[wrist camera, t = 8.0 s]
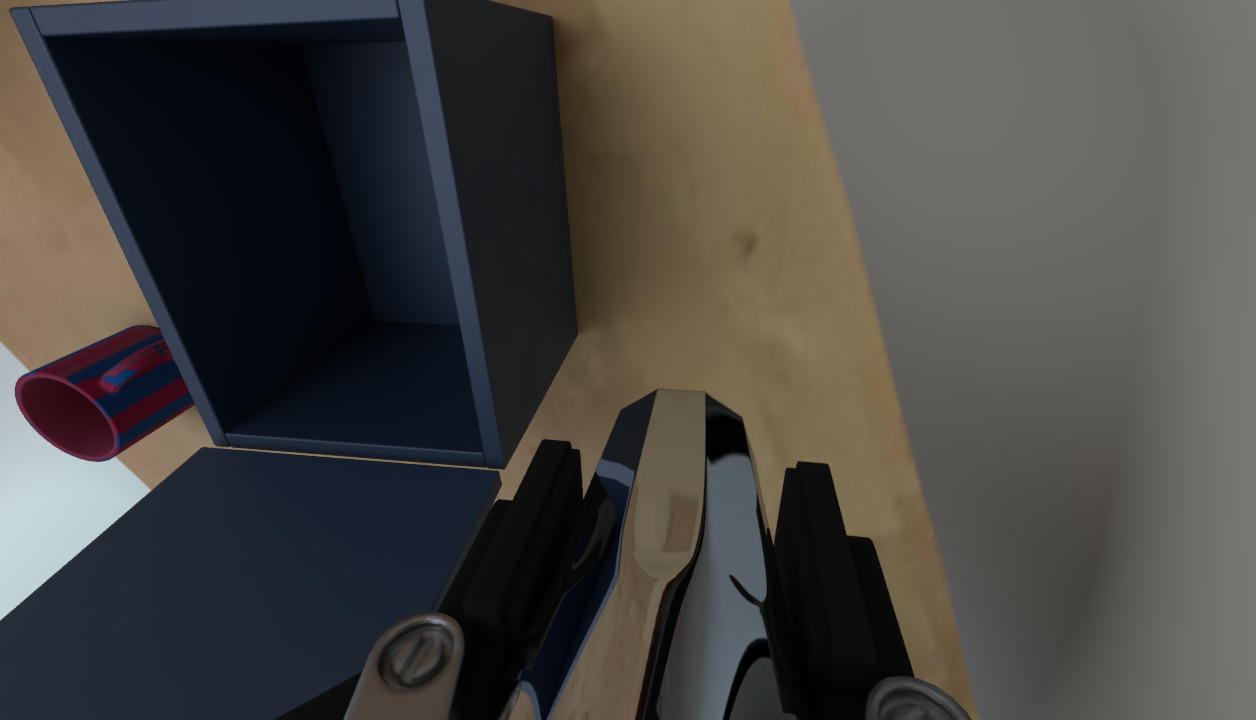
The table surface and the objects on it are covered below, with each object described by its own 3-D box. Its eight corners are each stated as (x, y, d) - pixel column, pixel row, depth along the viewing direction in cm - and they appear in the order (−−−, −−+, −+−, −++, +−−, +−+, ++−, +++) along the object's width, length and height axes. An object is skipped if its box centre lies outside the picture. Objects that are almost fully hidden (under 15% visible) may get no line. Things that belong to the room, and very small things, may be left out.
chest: (292, 28, 28) (5, 7, 17) (552, 16, 26) (421, -18, 15) (373, 326, 36) (214, 446, 25) (577, 335, 34) (504, 470, 23)
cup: (102, 346, 40) (-6, 395, 34) (182, 291, 37) (78, 335, 31) (172, 416, 43) (82, 474, 37) (254, 371, 39) (170, 426, 33)
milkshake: (722, 563, 14) (730, 1353, 6) (548, 454, 13) (230, 1192, 5) (854, 456, 12) (1203, 1455, 3) (658, 319, 11) (458, 1198, 3)
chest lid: (-600, 1133, 10) (-542, 1135, 10) (55, 1390, 8) (89, 1378, 8) (201, 446, 24) (210, 459, 24) (499, 470, 22) (502, 484, 22)
